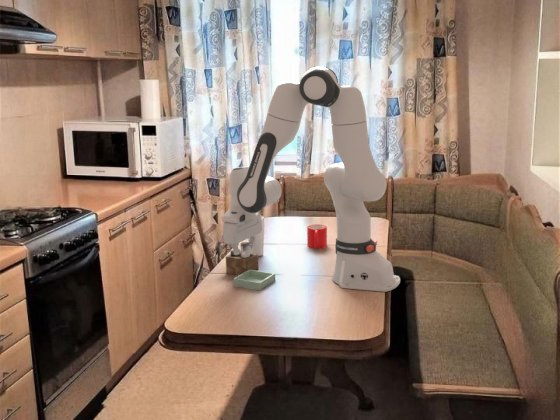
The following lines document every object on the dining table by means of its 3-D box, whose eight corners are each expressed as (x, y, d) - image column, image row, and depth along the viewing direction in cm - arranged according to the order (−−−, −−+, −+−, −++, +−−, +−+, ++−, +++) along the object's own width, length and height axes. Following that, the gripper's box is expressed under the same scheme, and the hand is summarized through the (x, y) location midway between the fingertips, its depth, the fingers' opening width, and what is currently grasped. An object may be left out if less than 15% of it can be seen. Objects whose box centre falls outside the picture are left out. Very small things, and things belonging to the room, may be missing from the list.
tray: (275, 280, 196) (275, 273, 195) (260, 290, 187) (259, 283, 187) (249, 276, 201) (249, 269, 200) (233, 285, 192) (233, 278, 191)
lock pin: (252, 271, 205) (251, 242, 203) (247, 274, 203) (246, 245, 200) (244, 270, 207) (243, 241, 205) (239, 272, 204) (238, 244, 202)
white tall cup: (263, 257, 220) (261, 219, 217) (245, 257, 222) (244, 219, 218) (267, 252, 227) (265, 215, 223) (250, 251, 228) (248, 214, 225)
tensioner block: (258, 270, 206) (257, 249, 205) (248, 276, 200) (247, 254, 199) (237, 266, 211) (236, 246, 209) (226, 272, 205) (225, 251, 203)
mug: (307, 251, 227) (306, 232, 225) (307, 242, 239) (307, 224, 237) (327, 251, 226) (327, 232, 225) (326, 242, 238) (326, 224, 236)
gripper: (250, 205, 210) (251, 242, 213) (219, 217, 193) (220, 257, 196) (266, 207, 207) (266, 244, 210) (235, 219, 190) (236, 260, 193)
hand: (244, 251), depth 203 cm, fingers open, 8 cm apart
